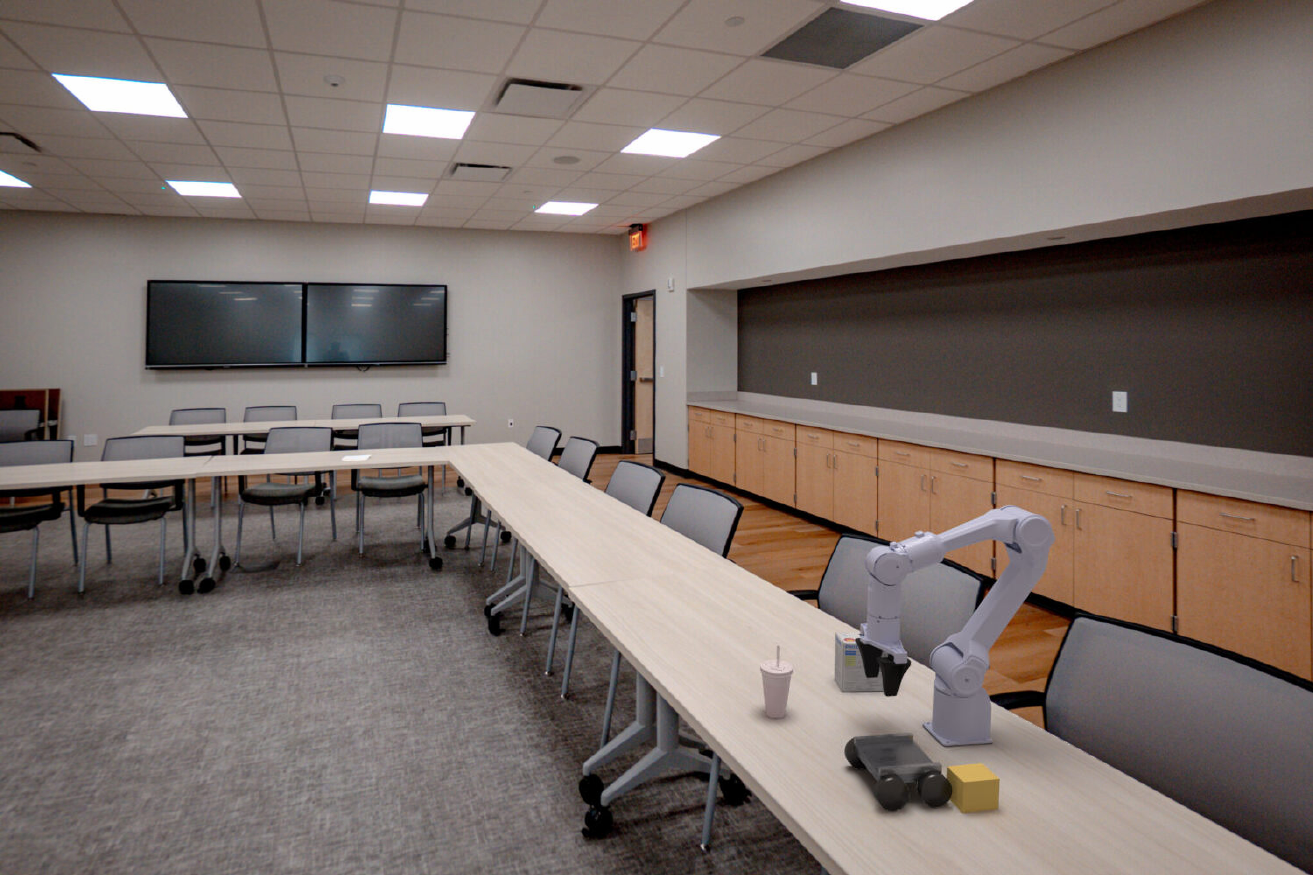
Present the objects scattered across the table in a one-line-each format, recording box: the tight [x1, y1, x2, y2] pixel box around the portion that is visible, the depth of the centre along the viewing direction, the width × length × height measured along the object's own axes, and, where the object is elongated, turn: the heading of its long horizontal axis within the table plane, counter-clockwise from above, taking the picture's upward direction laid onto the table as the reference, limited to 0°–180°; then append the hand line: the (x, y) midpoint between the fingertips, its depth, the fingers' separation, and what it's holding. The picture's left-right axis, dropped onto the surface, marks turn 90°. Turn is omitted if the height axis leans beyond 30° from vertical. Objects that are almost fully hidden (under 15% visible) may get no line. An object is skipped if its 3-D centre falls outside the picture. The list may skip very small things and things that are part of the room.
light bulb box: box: [834, 631, 888, 693], centre depth 154 cm, size 11×7×11 cm, turn 92°
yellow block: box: [946, 762, 1001, 814], centre depth 113 cm, size 6×4×5 cm
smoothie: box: [759, 644, 794, 720], centre depth 141 cm, size 6×6×14 cm
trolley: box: [843, 732, 952, 812], centre depth 117 cm, size 12×13×6 cm
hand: (880, 685), depth 133 cm, fingers open, 7 cm apart
